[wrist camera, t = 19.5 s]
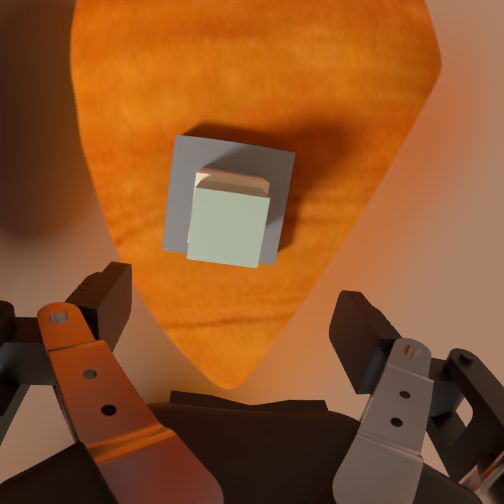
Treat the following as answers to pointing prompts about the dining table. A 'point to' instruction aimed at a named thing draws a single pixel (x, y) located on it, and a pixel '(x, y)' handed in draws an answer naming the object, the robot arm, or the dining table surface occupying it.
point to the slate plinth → (233, 160)
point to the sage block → (227, 223)
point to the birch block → (229, 181)
